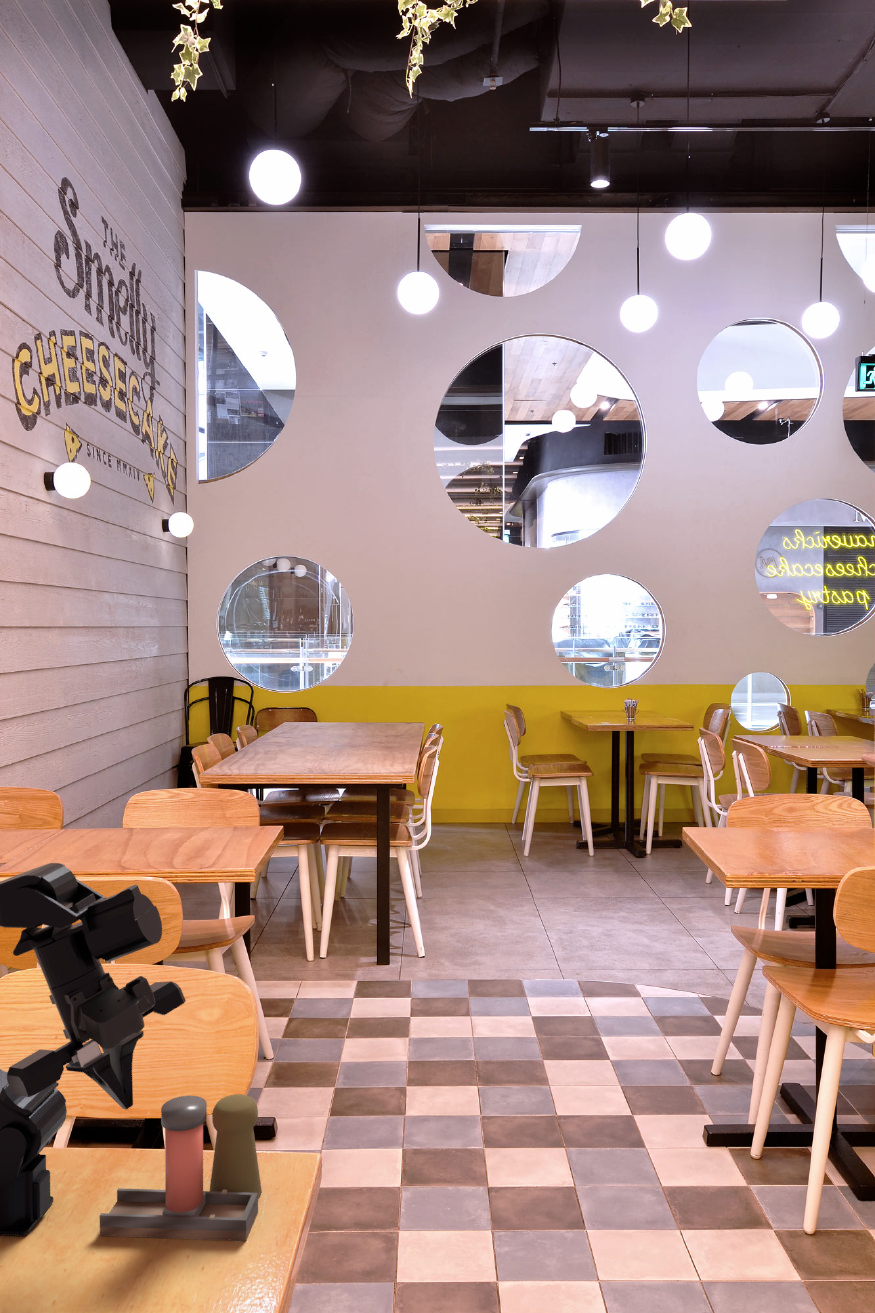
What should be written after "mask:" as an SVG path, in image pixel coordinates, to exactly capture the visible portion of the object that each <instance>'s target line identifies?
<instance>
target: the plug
mask: <svg viewBox="0 0 875 1313" xmlns="http://www.w3.org/2000/svg"><path fill="white" fill-rule="evenodd" d="M207 1106H208V1105H207V1101H206V1099H204V1098H203V1097H202V1096H198V1095H181V1096H177V1097H174V1098H171V1099H169V1100H168V1101H166V1102H165V1103H164V1104H163V1105H162V1106H161V1110H160V1112H161V1114H160V1117H161V1118H160V1119H161V1121H160V1123H161V1126H162V1127H163V1129H165V1130H164V1134H165V1135H164V1137H165V1138H164V1139H165V1140H164V1146H165V1147H164V1148H165V1150H164V1151H165V1152H164V1153H165V1155H164V1159H165V1160H164V1162H165V1164H164V1166H165V1168H164V1169H165V1170H164V1171H165V1172H164V1173H165V1176H164V1178H165V1179H164V1180H165V1182H164V1183H165V1186H164V1187H165V1189H164V1190H165V1200H166V1206H165V1207H164V1209H163V1215H170V1216H199V1215H200V1213H201V1211H202V1209H203V1207H204V1205H205V1203H206V1192H203V1191H204V1123H205V1122H206V1120H207V1114H208V1112H207V1111H208V1110H207Z"/></svg>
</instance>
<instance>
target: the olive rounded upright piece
mask: <svg viewBox="0 0 875 1313" xmlns="http://www.w3.org/2000/svg"><path fill="white" fill-rule="evenodd" d="M258 1117H259V1109H258V1104H257V1103H256V1100H255V1099H254V1098H253V1097H251V1096H250V1095H247V1094H241V1093H239V1094H230V1095H227V1096H224V1097H222V1098H221V1099H220V1100H218V1101H217V1102H216V1104H215V1105H214V1107H213V1109H212V1113H211V1118H212V1119H211V1120H212V1125H213V1128H214V1129H215V1131H216V1137H215V1143H214V1144H215V1145H214V1152H213V1153H214V1154H213V1159H212V1160H213V1161H212V1170H211V1176H210V1183H209V1184H210V1186H209V1191H216V1192H222V1191H223V1189H225V1190H227V1192H247V1193H258V1200H259V1199H260V1198H261V1196H262V1194H261V1193H263V1192H262V1190H263V1189H262V1184H261V1176H260V1169H259V1161H258V1154H257V1148H256V1147H257V1146H256V1139H255V1132H254V1127H255V1126H256V1124H257V1122H258Z"/></svg>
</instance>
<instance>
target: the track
mask: <svg viewBox="0 0 875 1313" xmlns="http://www.w3.org/2000/svg"><path fill="white" fill-rule="evenodd" d="M203 1192H206V1203H205V1205H204V1207H203V1209H202V1211H201V1213H200V1215H199V1216H170V1215H163V1209H164V1207H165V1206H166V1200H165V1189H153V1188H152V1189H150V1188H149V1189H147V1188H124V1187H123V1188H121V1187H118V1188H117V1190H116V1202H115V1203H114V1205H113V1207H112V1208H111V1209H110V1210H109V1212H107V1213H106V1212H105V1213H104V1212H103V1213H102V1212H101V1213H100V1214H99V1236H100V1237H122V1238H123V1237H126V1238H129V1237H130V1238H153V1239H154V1238H155V1239H179V1240H180V1239H182V1240H183V1239H184V1240H186V1239H187V1240H210V1241H211V1240H212V1241H213V1240H214V1241H237V1242H239V1241H240V1242H241V1241H242V1242H243V1241H244V1242H247V1240H248V1238H249V1235H250V1233H251V1231H252V1228H253V1226H254V1223H255V1221H256V1218H257V1216H258V1214H259V1199H258V1193H247V1192H227V1190H225V1189H223V1191H222V1192H216V1191H210V1190H203Z"/></svg>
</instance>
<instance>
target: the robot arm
mask: <svg viewBox="0 0 875 1313" xmlns="http://www.w3.org/2000/svg"><path fill="white" fill-rule="evenodd" d="M79 921H80V922H79ZM77 922H78V923H77ZM43 925H44V926H45V927H43V928H41V926H43ZM0 927H1V928H4V929H5V928H6V929H7V928H8V929H9V928H10V929H15V928H16V929H17V928H18V929H23V930H21V933H20V937H19V941H18V942H17V943H16V945H15V947H14V948H13V951H12V954H13V956H16V957H18V956H21V955H23V954H26V953H28V952H31V951H33V952H34V954H35V957H36V959H37V962H38V964H39V966H40V970H41V971H42V974H43V977H44V979H45V982H46V984H47V987H48V989H49V992H50V995H49V996H48V997H49V1000H50V1002H51V1004H52V1005H55V1007H56V1009H57V1012H58V1015H59V1016H60V1019H61V1022H62V1024H63V1026H64V1029H63V1030H62V1033H63V1035H64V1036H65V1039H66V1040H69V1041H68V1042H67V1043H65V1044H64V1045H61V1046H60V1047H59V1048H56V1049H54V1050H53V1049H38V1050H36V1051H35V1052H32V1053H31V1054H29V1055H28V1056H26V1057H24V1058H23V1059H21V1060H20V1061H18V1062H16V1063H14V1064H12V1065H11V1066H9V1067H8V1070H7V1071H5V1070H3V1069H1V1068H0V1236H19V1237H21V1236H26V1235H29V1233H30V1232H31V1230H33V1228H34V1227H35V1225H36V1224H37V1223H38V1222H39V1220H40V1219H42V1217H43V1215H44V1214H45V1213H46V1212H47V1211H48V1209H49V1208H50V1207H51V1205H52V1204H53V1203H54V1197H53V1196H52V1195H51V1172H50V1170H49V1169H47V1155H46V1154H41V1152H42V1151H43V1149H45V1147H46V1146H48V1145H49V1144H50V1143H51V1141H52V1139H53V1137H54V1136H55V1134H57V1132H58V1131H59V1130H60V1129H61V1128H62V1127H63V1125H64V1123H65V1121H66V1120H67V1113H68V1111H67V1104H66V1102H67V1099H66V1097H65V1096H64V1094H63V1093H62V1092H61V1091H60V1090H59V1089H58V1086H59V1082H58V1081H60V1080H61V1078H62V1075H63V1073H64V1070H65V1069H66V1071H68V1072H74V1073H83V1074H84V1075H86V1076H87V1077H89V1078H90V1079H91V1080H92V1081H94V1082H95V1083H96V1084H97V1085H98V1086H99V1087H100V1088H101V1089H102V1090H103V1091H105V1093H107V1095H109V1097H111V1099H112V1100H113V1101H114V1102H116V1103H117V1105H119V1106H120V1107H121V1108H122V1109H123V1110H126V1111H127V1110H129V1109H130V1108H132V1107H133V1106H134V1097H133V1096H134V1091H133V1087H134V1086H133V1060H134V1059H133V1058H134V1051H135V1048H136V1046H137V1043H138V1041H139V1040H141V1039H142V1038H143V1037H144V1030H143V1029H144V1028H145V1021H144V1020H145V1019H144V1018H145V1017H146V1016H148V1015H150V1014H151V1013H154V1014H158V1015H161V1016H166V1015H168V1014H169V1013H171V1012H172V1011H174V1010H175V1009H177V1008H179V1007H180V1006H182V1005H184V1004H185V1003H186V998H185V995H184V993H183V991H182V988H181V987H180V985H179V984H177V983H176V982H174V981H172V980H171V981H158V982H157V981H156V982H154V983H151V984H150V983H149V981H148V979H147V978H146V977H144V976H141V975H139V976H138V977H136V978H134V979H132V980H130V981H129V982H127V983H126V984H125V985H124V986H123V987H121V988H119V987H118V986H117V985H116V984H115V982H114V979H113V977H112V976H111V975H110V972H105V969H104V967H103V964H102V963H101V959H102V960H103V961H105V962H109V963H110V962H114V961H117V960H119V959H121V958H123V957H125V956H129V955H131V954H133V953H135V952H136V953H137V952H139V951H141V950H143V949H145V948H148V947H151V946H153V945H156V944H158V943H160V941H161V939H162V935H163V923H162V919H161V915H160V912H159V910H158V907H157V906H156V905H154V904H153V902H152V901H151V899H150V898H149V897H148V896H147V895H145V894H143V893H141V890H140V887H139V885H138V884H133V885H131V886H128V887H126V888H124V889H123V890H121V891H120V892H118V893H116V894H113V895H110V896H109V897H106V896H104V895H103V894H101V893H100V892H98V891H97V890H95V889H93V888H91V887H90V886H88V885H87V884H86V883H83V882H82V881H80V880H78V878H77V877H76V876H75V874H74V873H73V871H72V870H70V869H69V868H68V867H67V866H66V865H65V864H63V863H59V862H50V863H46V864H43V865H40V866H37V867H35V868H32V869H29V870H27V871H24V872H21V873H19V874H15V875H13V876H11V877H9V878H5V879H3V880H0ZM101 1050H102V1051H101Z"/></svg>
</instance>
